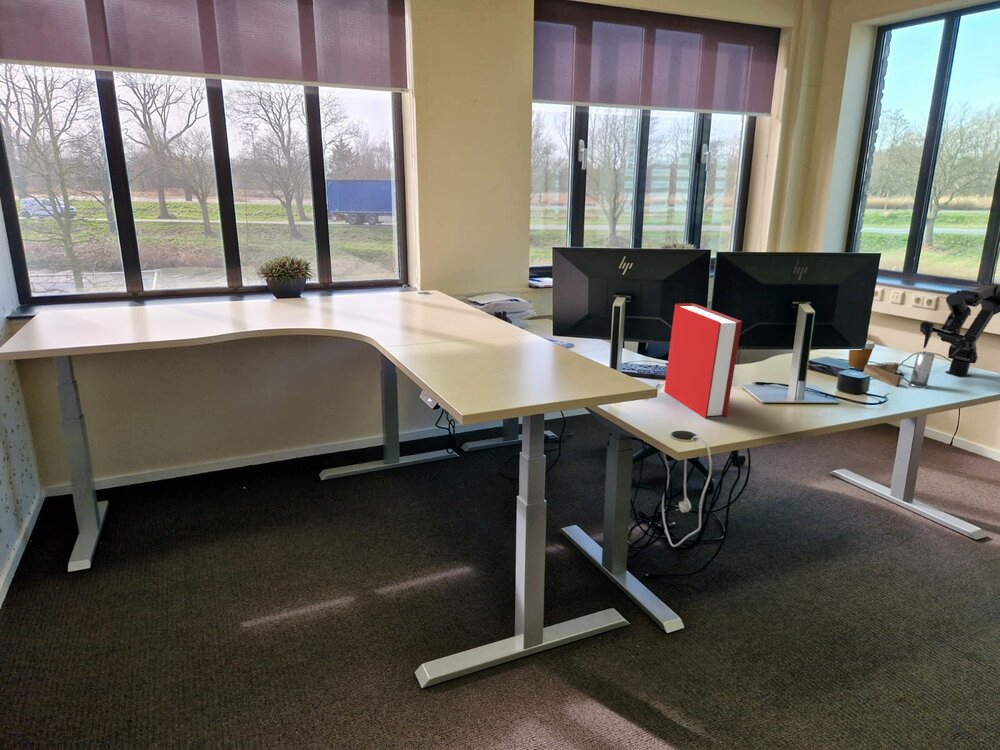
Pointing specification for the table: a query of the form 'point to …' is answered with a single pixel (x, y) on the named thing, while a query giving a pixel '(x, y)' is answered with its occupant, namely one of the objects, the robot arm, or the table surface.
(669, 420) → the table surface
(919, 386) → the silver metal can
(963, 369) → the robot arm
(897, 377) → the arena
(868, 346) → the disposable coffee cup
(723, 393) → the book
